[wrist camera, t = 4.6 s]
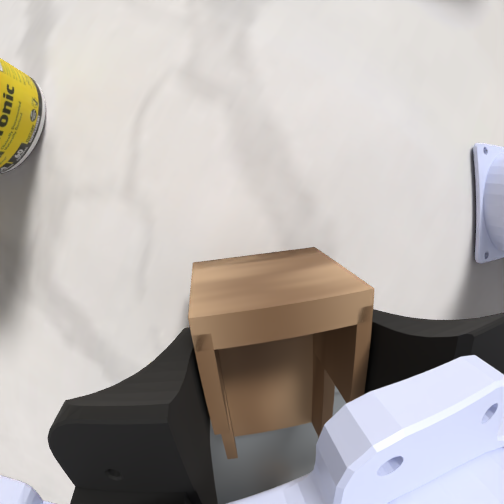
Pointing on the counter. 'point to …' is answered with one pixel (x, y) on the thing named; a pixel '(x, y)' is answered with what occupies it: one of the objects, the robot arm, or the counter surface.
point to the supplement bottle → (18, 116)
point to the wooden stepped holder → (278, 339)
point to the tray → (265, 459)
